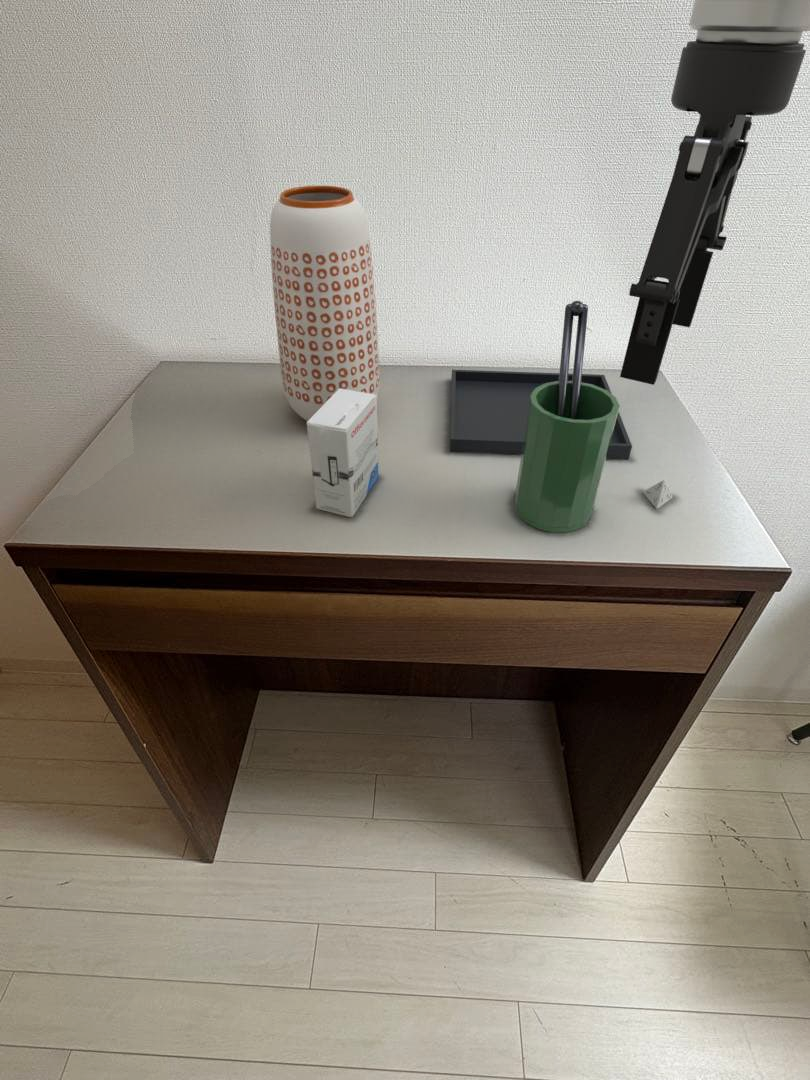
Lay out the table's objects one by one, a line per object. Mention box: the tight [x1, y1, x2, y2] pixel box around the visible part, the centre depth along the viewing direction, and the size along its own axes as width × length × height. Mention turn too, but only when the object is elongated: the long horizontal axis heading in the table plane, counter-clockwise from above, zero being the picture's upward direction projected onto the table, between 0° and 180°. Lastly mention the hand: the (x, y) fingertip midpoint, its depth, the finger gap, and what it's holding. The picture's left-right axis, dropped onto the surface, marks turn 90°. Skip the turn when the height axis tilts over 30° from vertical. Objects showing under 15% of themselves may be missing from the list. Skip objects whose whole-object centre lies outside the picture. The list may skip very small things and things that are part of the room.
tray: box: [449, 369, 633, 460], centre depth 88 cm, size 23×20×2 cm
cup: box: [514, 381, 620, 533], centre depth 68 cm, size 9×9×14 cm
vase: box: [269, 185, 381, 422], centre depth 79 cm, size 13×13×28 cm
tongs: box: [556, 300, 589, 420], centre depth 66 cm, size 2×11×21 cm, turn 175°
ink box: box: [306, 388, 379, 518], centre depth 70 cm, size 9×5×12 cm, turn 160°
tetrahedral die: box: [642, 479, 673, 510], centre depth 72 cm, size 4×3×3 cm
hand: (657, 349), depth 54 cm, fingers open, 13 cm apart
